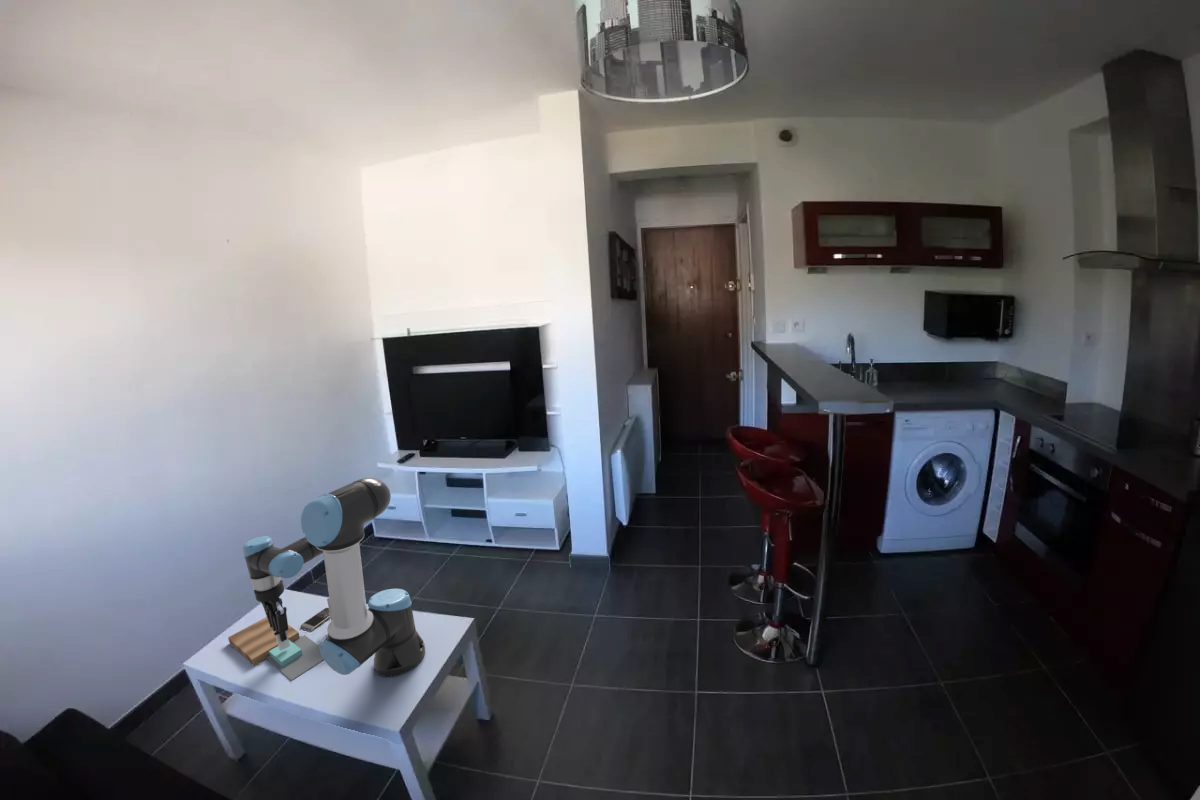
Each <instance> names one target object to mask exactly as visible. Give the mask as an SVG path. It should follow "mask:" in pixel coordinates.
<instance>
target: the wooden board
mask: <svg viewBox="0 0 1200 800" xmlns="http://www.w3.org/2000/svg"><path fill="white" fill-rule="evenodd" d="M288 629H289V630H287V631H286V632H287V636H288V640H290V641H291V642H294V641H295V640H297V639H299V638H300V632H299V631H298V630H296V629H295V628H294V627H292V626H291V625H290V624H288ZM274 632H275V631H273V628H271V627H270V624H269V621H268V619H267V616H266V617H264V618H262V619H260V620H258V621H256V622H254V623H252V624H251V625H249V626H247V627H245V628H243V629H241V630H239V631H237V632H235V633H234V634H231V635H229V636H228V637H227V639H228V643H229V644H230V646H231V647H232V648H234V649H235V650H236V651H237V652H239V654H240V655H241V656H243V658H245V660H247V661H248V662H249V663H250V664H251V665H252V666H253V667H255V666H256V665H258V664H260V663H261V662H262V663H263V661H265V660H267V659H266V658H267V657H268V656H270V653H269V651H270V650H272V649H274V648H275V647H277V646H278V644H277V640H276V636H275V635H274Z"/></svg>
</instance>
